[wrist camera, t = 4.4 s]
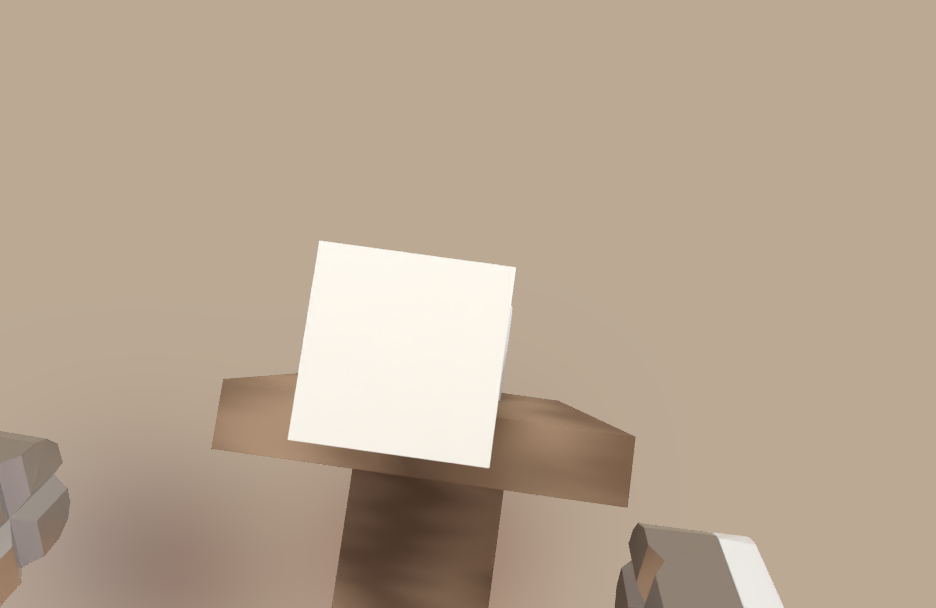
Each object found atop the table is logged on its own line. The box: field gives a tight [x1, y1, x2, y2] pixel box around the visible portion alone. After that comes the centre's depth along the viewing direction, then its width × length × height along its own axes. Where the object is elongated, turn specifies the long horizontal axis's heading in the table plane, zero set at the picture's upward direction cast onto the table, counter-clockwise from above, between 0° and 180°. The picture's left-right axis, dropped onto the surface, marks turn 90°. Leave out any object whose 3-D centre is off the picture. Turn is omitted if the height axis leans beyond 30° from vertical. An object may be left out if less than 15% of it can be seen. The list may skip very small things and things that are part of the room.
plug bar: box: [288, 241, 516, 468], centre depth 21 cm, size 5×22×4 cm, turn 0°
